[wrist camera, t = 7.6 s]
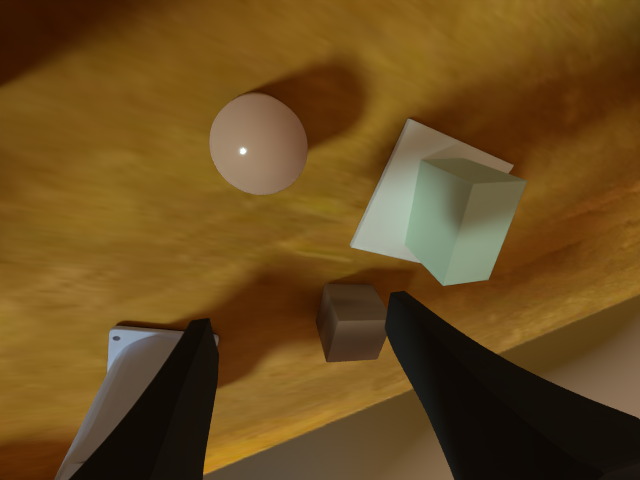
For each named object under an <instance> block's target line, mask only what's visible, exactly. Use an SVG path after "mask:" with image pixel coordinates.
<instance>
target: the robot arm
mask: <svg viewBox="0 0 640 480" xmlns="http://www.w3.org/2000/svg"><path fill="white" fill-rule="evenodd" d="M384 328H385V331H386V333H387V336H388V339H389V341H390V344H391V346H392V349H393V351H394V353H395V355H396V357H397V359H398V360H399V362H400V364H401V366H402V368H403V370H404V372H405V373H406V375H407V377H408V379H409V381H410V383H411V384H412V386H413V388H414V390H415V391H416V394H417V395H418V397H419V399H420V401H421V403H422V405H423V407H424V409H425V411H426V413H427V415H428V417H429V419H430V422H431V424H432V426H433V428H434V431H435V433H436V436H437V438H438V440H439V443H440V445H441V447H442V450H443V452H444V455H445V457H446V460H447V462H448V465H449V467H450V469H451V472H452V475H453V477H454V480H640V419H639V418H637V417H635V416H632V415H629V414H627V413H624V412H622V411H619V410H617V409H614V408H611V407H609V406H606V405H603V404H601V403H598V402H595V401H593V400H591V399H588V398H586V397H583V396H581V395H579V394H576V393H574V392H572V391H569V390H567V389H565V388H563V387H560V386H558V385H556V384H554V383H552V382H549V381H547V380H545V379H543V378H541V377H539V376H537V375H535V374H533V373H531V372H529V371H527V370H525V369H523V368H521V367H519V366H517V365H515V364H513V363H511V362H510V361H507V360H506V359H504V358H502V357H501V356H499V355H497V354H495V353H494V352H492V351H490V350H488V349H487V348H485V347H483V346H482V345H480V344H479V343H477V342H475V341H474V340H472V339H471V338H469V337H468V336H466V335H465V334H463V333H462V332H460V331H459V330H457V329H456V328H454V327H453V326H451V325H450V324H449V323H447V322H446V321H444V320H443V319H442V318H440V317H439V316H437V315H436V314H435V313H433V312H432V311H431V310H429V309H428V308H427V307H425V306H424V305H423V304H421V303H420V302H419V301H417V300H416V299H415V298H413V297H412V296H410V295H409V294H408V293H406V292H405V291H400V292H393V293H390V299H389V305H388V310H387V316H386V322H385V327H384ZM117 336H118V337H117ZM218 342H219V336H218V335H216V334H213V330H212V326H211V322H210V319H209V318H206V319H199V320H192V321H191V322H190V323H189V325H188V326H187V328H186V330H185V331H173V330H162V329H150V328H139V327H127V326H114V327H112V328H111V330H110V332H109V349H108V368H107V375H106V377H105V379H104V381H103V383H102V385H101V387H100V389H99V391H98V393H97V395H96V397H95V399H94V401H93V403H92V405H91V407H90V409H89V411H88V413H87V415H86V417H85V419H84V421H83V423H82V425H81V427H80V429H79V431H78V433H77V435H76V437H75V439H74V441H73V443H72V445H71V447H70V449H69V451H68V453H67V455H66V457H65V458H64V460H63V462H62V464H61V466H60V468H59V470H58V472H57V474H56V476H55V478H54V480H203V469H204V461H205V453H206V447H207V441H208V435H209V429H210V423H211V418H212V412H213V406H214V400H215V394H216V388H217V380H218V363H219V353H218V349H217V345H218Z"/></svg>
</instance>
